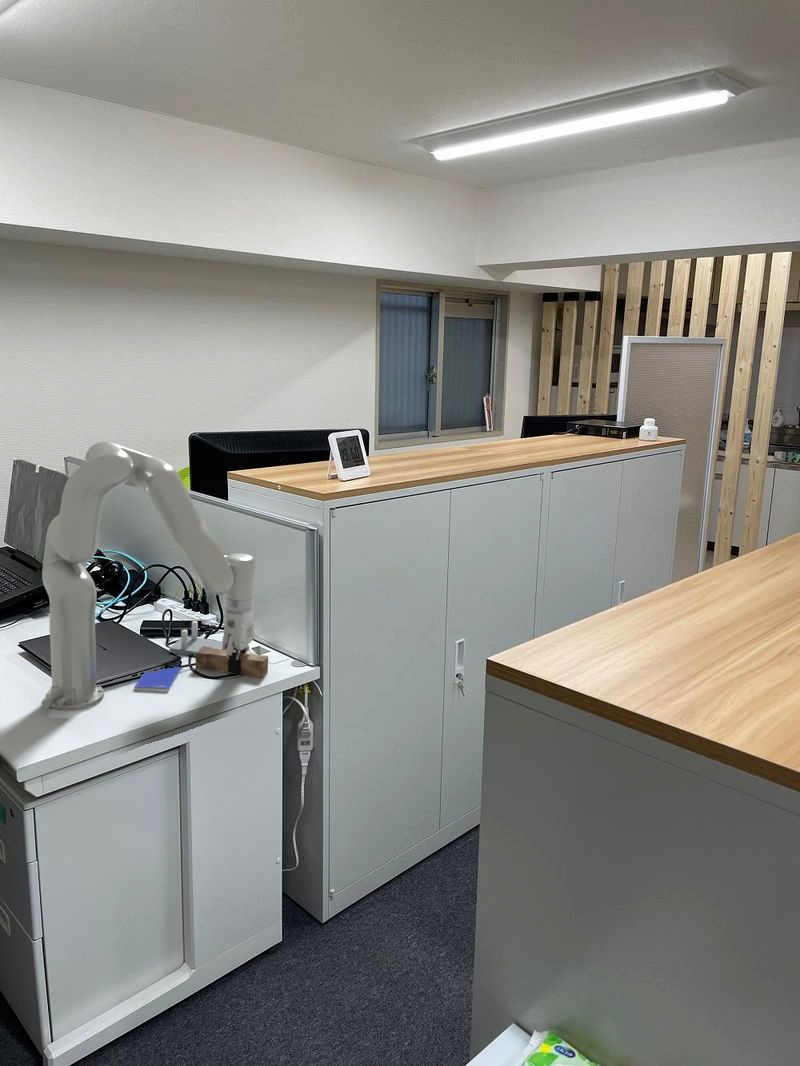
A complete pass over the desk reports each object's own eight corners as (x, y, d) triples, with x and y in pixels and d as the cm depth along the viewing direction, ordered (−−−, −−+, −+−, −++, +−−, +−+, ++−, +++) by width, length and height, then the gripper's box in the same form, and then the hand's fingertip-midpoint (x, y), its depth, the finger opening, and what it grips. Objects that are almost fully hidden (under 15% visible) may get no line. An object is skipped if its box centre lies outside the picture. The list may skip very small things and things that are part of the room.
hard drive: (168, 688, 189) (180, 666, 201) (134, 686, 189) (148, 664, 201) (168, 694, 190) (180, 672, 202) (134, 692, 189) (148, 670, 201)
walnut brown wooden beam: (268, 671, 205) (268, 655, 204) (262, 678, 201) (263, 662, 200) (202, 662, 207) (202, 646, 206) (195, 668, 203) (195, 652, 202)
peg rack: (248, 649, 217) (249, 628, 216) (236, 662, 209) (237, 640, 207) (183, 639, 220) (183, 619, 219) (169, 652, 212) (169, 630, 210)
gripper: (241, 615, 191) (239, 685, 195) (264, 594, 206) (262, 659, 211) (211, 611, 192) (210, 681, 196) (236, 590, 208) (235, 655, 212)
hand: (237, 669), depth 204 cm, fingers closed on walnut brown wooden beam, 3 cm apart
